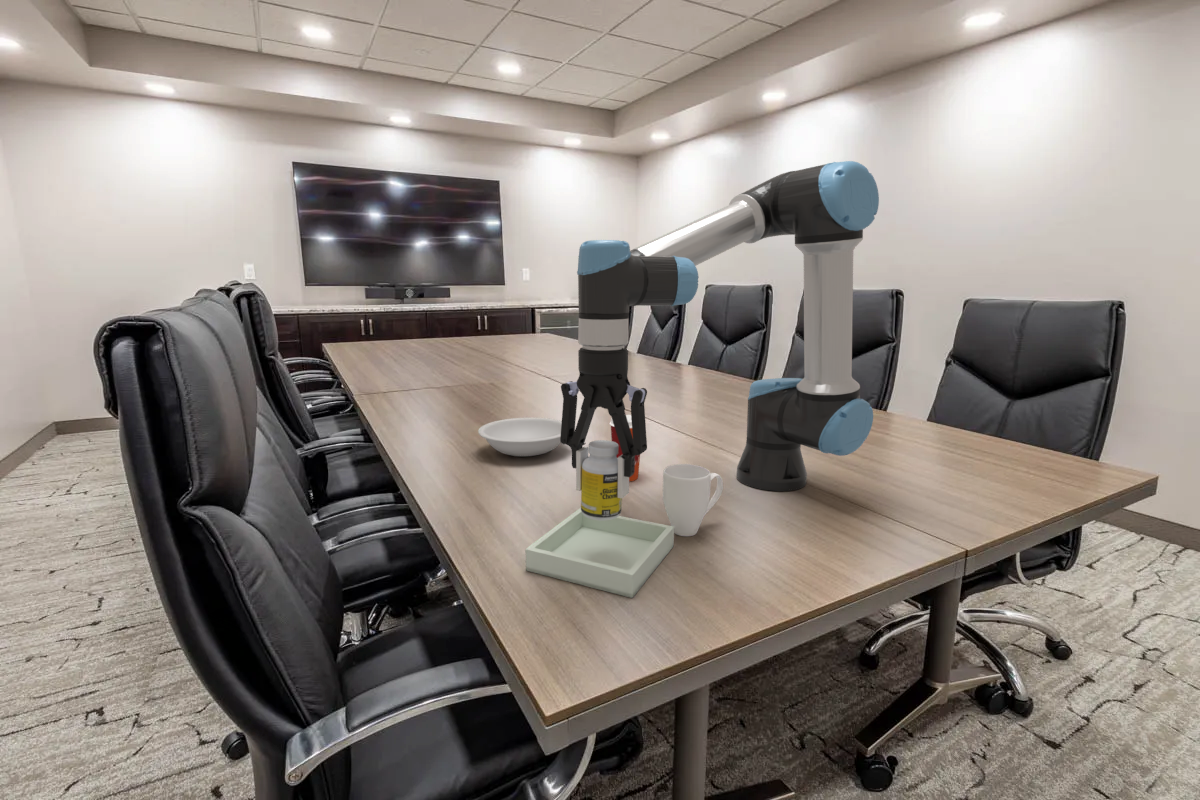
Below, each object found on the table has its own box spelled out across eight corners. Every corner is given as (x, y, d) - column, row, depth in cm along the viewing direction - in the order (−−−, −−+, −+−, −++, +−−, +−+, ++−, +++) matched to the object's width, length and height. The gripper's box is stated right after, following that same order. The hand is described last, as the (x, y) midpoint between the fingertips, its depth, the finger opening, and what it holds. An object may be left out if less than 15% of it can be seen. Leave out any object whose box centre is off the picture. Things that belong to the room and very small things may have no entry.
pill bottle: (592, 525, 88) (594, 452, 85) (574, 509, 93) (575, 440, 91) (628, 518, 91) (632, 447, 88) (609, 503, 96) (611, 436, 94)
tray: (673, 546, 98) (674, 526, 97) (632, 598, 82) (632, 575, 81) (580, 526, 106) (579, 508, 105) (525, 570, 90) (525, 549, 89)
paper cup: (640, 484, 127) (641, 423, 124) (606, 482, 128) (606, 421, 125) (644, 472, 134) (645, 414, 131) (612, 470, 136) (612, 413, 133)
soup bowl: (589, 456, 147) (589, 431, 146) (503, 474, 134) (502, 447, 132) (544, 435, 166) (543, 413, 165) (465, 449, 153) (463, 425, 152)
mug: (679, 545, 98) (681, 482, 96) (652, 527, 105) (654, 467, 103) (734, 531, 103) (737, 471, 101) (705, 515, 111) (708, 458, 108)
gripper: (673, 347, 86) (668, 493, 90) (559, 341, 94) (560, 475, 99) (655, 353, 79) (651, 510, 84) (534, 345, 87) (537, 489, 92)
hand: (602, 491), depth 91 cm, fingers closed on pill bottle, 6 cm apart
